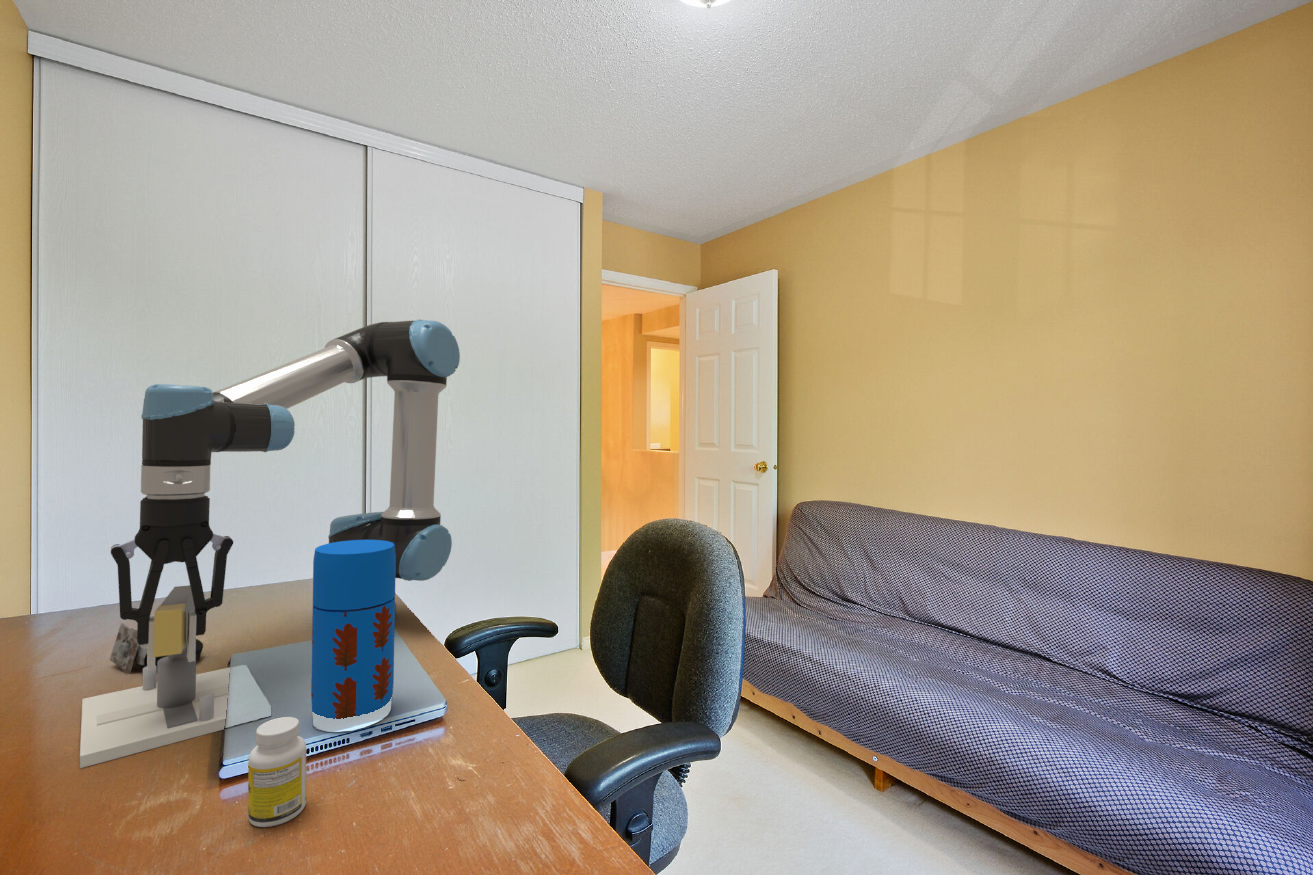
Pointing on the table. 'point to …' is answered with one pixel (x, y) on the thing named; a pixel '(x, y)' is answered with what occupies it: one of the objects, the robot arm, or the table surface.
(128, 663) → the caster wheel
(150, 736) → the base plate
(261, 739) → the supplement bottle
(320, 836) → the table surface
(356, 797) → the table surface
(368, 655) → the thermos
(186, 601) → the grey yellow rectangular block
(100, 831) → the table surface
